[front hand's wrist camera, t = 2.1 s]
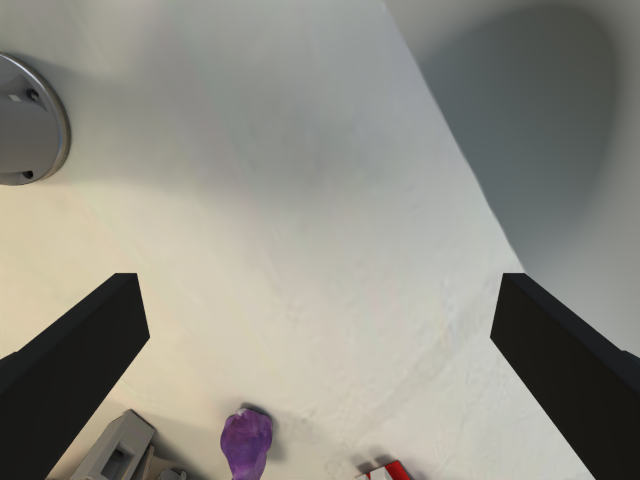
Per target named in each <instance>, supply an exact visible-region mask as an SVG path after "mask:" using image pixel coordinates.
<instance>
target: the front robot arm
mask: <svg viewBox="0 0 640 480" xmlns="http://www.w3.org/2000/svg"><path fill="white" fill-rule="evenodd" d="M69 145H70V129H69V123H68V119H67V115H66V112H65V110H64V107H63V105H62V103H61V101H60V99H59V98H58V96H57V94H56V93H55V91H54V90H53V89H52V87H51V86H50V85H49V84H48V82H47V81H46V80H45V79H44V78H43V77H42V76H41V75H40V74H39V73H38V72H36V71H35V70H34V69H33V68H31V67H30V66H29V65H27V64H25V63H24V62H22V61H20V60H18V59H17V58H15V57H12V56H10V55H7V54H4V53H0V184H1V185H24V184H29V183H33V182H37V181H40V180H43V179H45V178H47V177H49V176H51V175H52V174H54V173H55V172H56V171H57V170H58V169H59V168H60V167H61V165H62V164H63V162H64V160H65V159H66V156H67V154H68V150H69ZM149 338H150V334H149V330H148V325H147V320H146V315H145V310H144V305H143V301H142V296H141V291H140V286H139V281H138V276H137V273H115V274H114V275H112V276H111V277H110V278H109V279H107V280H106V281H105V282H104V283H102V284H101V285H100V286H99V287H97V288H96V289H95V290H94V291H92V292H91V293H90V294H89V295H88V296H86V297H85V298H84V299H83V300H81V301H80V302H79V303H78V304H76V305H75V306H74V307H73V308H71V309H70V310H69V311H68V312H66V313H65V314H64V315H63V316H61V317H60V318H59V319H58V320H56V321H55V322H54V323H53V324H51V325H50V326H49V327H48V328H46V329H45V330H44V331H43V332H41V333H40V334H39V335H38V336H36V337H35V338H34V339H33V340H31V341H30V342H29V343H28V344H26V345H25V346H24V347H23V348H21V349H20V350H19V351H18V352H14V353H12V354H10V355H8V356H6V357H4V358H2V359H1V360H0V480H44V479H45V478H46V477H47V475H48V474H49V473H50V471H51V470H52V469H53V467H54V466H55V465H56V463H57V462H58V461H59V459H60V458H61V457H62V455H63V454H64V453H65V451H66V450H67V449H68V447H69V446H70V445H71V443H72V442H73V440H74V439H75V438H76V436H77V435H78V434H79V432H80V431H81V430H82V428H83V427H84V426H85V424H86V423H87V422H88V420H89V419H90V418H91V416H92V415H93V414H94V412H95V411H96V410H97V408H98V407H99V406H100V404H101V403H102V401H103V400H104V399H105V397H106V396H107V395H108V393H109V392H110V391H111V389H112V388H113V387H114V385H115V384H116V383H117V381H118V380H119V379H120V377H121V376H122V375H123V373H124V372H125V371H126V369H127V368H128V367H129V365H130V364H131V363H132V361H133V360H134V358H135V357H136V356H137V354H138V353H139V352H140V350H141V349H142V348H143V346H144V345H145V344H146V342H147V341H148V340H149ZM490 338H491V340H492V341H493V342H494V344H495V345H496V346H497V348H498V349H499V350H500V352H501V353H502V354H503V356H504V357H505V358H506V360H507V361H508V363H509V364H510V365H511V367H512V368H513V369H514V371H515V372H516V373H517V375H518V376H519V377H520V379H521V380H522V381H523V383H524V384H525V385H526V387H527V388H528V389H529V391H530V392H531V393H532V395H533V396H534V397H535V399H536V400H537V401H538V403H539V404H540V406H541V407H542V408H543V410H544V411H545V412H546V414H547V415H548V416H549V418H550V419H551V420H552V422H553V423H554V424H555V426H556V427H557V428H558V430H559V431H560V432H561V434H562V435H563V436H564V438H565V439H566V440H567V442H568V443H569V445H570V446H571V447H572V449H573V450H574V451H575V453H576V454H577V455H578V457H579V458H580V459H581V461H582V462H583V463H584V465H585V466H586V467H587V469H588V470H589V471H590V473H591V474H592V475H593V477H594V478H595V479H596V480H640V358H639V357H637V356H635V355H633V354H631V353H629V352H627V351H621V350H620V349H619V348H617V347H616V346H615V345H614V344H612V343H611V342H610V341H609V340H607V339H606V338H605V337H604V336H602V335H601V334H600V333H599V332H597V331H596V330H595V329H594V328H592V327H591V326H590V325H589V324H587V323H586V322H585V321H584V320H582V319H581V318H580V317H579V316H577V315H576V314H575V313H574V312H572V311H571V310H570V309H569V308H567V307H566V306H565V305H564V304H562V303H561V302H560V301H559V300H557V299H556V298H555V297H554V296H552V295H551V294H550V293H549V292H548V291H546V290H545V289H544V288H543V287H541V286H540V285H539V284H537V283H536V282H535V281H534V280H533V279H531V278H530V277H529V276H528V275H526V274H525V273H503V276H502V281H501V286H500V291H499V296H498V301H497V305H496V310H495V315H494V320H493V325H492V330H491V334H490Z"/></svg>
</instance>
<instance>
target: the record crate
mask: <svg viewBox="0 0 640 480" xmlns="http://www.w3.org/2000/svg"><path fill="white" fill-rule="evenodd" d="M124 413H127V414H125V415H123V416H121V417H120V418H118V419H116V420H114V421H113V422H111V423H109V425H108V426H107V427H106V429H105V430H104V432H103V433H102V434H101V436H100V437H99V439H98V440H97V441H96V443H95V444H94V446H93V447H92V448H91V450H90V451H89V453H88V454H87V455H86V457H85V458H84V460H83V461H82V462H81V464H80V465H79V467H78V468H77V469H76V471H75V472H74V474H73V475H72V476H71V478H70V479H69V480H146V478H147V475H148V471H149V467H150V464H151V460H152V457H153V453H154V449H155V447H154V446H152V445H150V447H149V449H148V450H147V451H146V450H145V449H146V447H147V445H148V444H149V442H150V440H151V438H152V436H153V434H154V432H155V430H154V429H152V428H151V427H150V426H149V425H147V424H146V423H145V422H144V421H142V420H141V419H140V418H139V417H137V416H136V415H135V414H134V413H133V412H132V411H130V410H129V411H127V412H124ZM186 474H187V473H186V472H184V471H182V473H181V475H178V474H177V473H175V472H174V471H172V470H171V469H169V468H167V469H165V470H163V471H162V472H161V473H160V476H159V478H158V480H186Z"/></svg>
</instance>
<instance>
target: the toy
mask: <svg viewBox="0 0 640 480" xmlns="http://www.w3.org/2000/svg"><path fill="white" fill-rule="evenodd" d="M352 480H410V479H409V477H408V475H407V474H406V472H405V471H404V469H403V468H402V466H401V465H400V463H399V462H398V461H396V462H394V463H391V464H389V465H387V466H384V467H381V468H379V469H376V470H374V471H371V472H370V473H368V474H364V475H361V476H359V477H356V478H354V479H352Z"/></svg>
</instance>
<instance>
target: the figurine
mask: <svg viewBox="0 0 640 480" xmlns="http://www.w3.org/2000/svg"><path fill="white" fill-rule="evenodd" d="M272 433H273V429H272V421H271V419H270V418H269V417H268V416H266V415H262V414H260V413H258V412H255V411H253V410H250V409H247V408H241V409H238V410H237V411H236V414H235V415H234V416H232V417H229V418H228V419H227V420H226V423H225V427H224V430H223V432H222V435H221V440H220V445H221V450H222V452H223V453H224V455H225V456H226V458H227V460H228V463H229V466H230V469H231V472H232V475H233V478H232V480H260V477H261V475H262V473H263V471H264V468H265V465H266V452H267V451H268V450H269V448H270V446H271V442H272Z"/></svg>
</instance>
